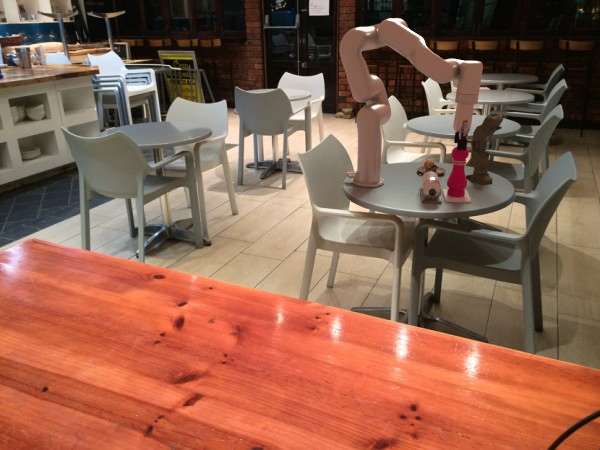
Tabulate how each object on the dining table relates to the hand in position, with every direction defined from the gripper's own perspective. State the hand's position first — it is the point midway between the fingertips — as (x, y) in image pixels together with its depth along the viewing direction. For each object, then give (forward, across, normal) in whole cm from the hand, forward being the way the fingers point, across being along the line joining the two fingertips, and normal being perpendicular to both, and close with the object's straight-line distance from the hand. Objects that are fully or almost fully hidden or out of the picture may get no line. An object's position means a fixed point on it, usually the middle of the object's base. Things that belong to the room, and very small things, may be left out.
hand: (459, 146), depth 177 cm
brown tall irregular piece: (+19, -20, +13) cm, 31 cm away
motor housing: (+19, 0, -8) cm, 21 cm away
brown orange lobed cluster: (+20, -30, -6) cm, 36 cm away
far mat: (+19, 0, +1) cm, 19 cm away
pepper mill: (+18, 0, +1) cm, 19 cm away
